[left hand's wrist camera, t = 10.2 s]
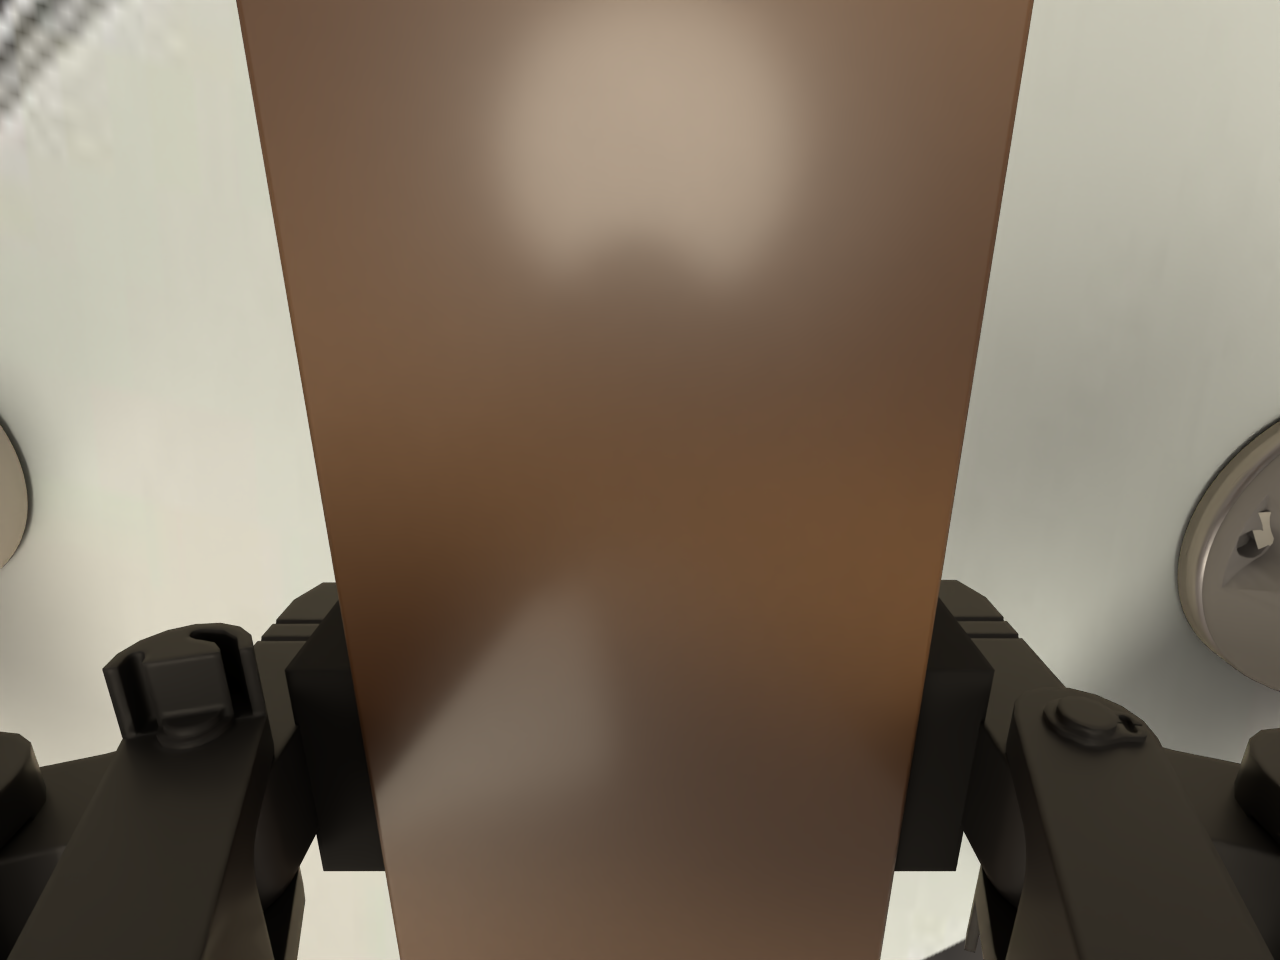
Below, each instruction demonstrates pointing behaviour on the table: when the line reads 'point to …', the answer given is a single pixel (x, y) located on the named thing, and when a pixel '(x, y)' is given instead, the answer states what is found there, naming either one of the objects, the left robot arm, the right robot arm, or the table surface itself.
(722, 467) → the bar
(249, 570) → the table surface
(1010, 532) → the table surface
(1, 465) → the bust sculpture
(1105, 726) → the left robot arm
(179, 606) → the table surface
